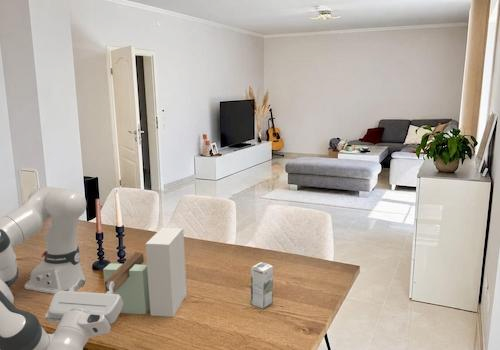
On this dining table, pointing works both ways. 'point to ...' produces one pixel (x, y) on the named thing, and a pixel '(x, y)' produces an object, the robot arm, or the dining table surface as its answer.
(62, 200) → the robot arm
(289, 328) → the dining table surface
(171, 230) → the white stand
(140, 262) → the walnut bar
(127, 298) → the sage notched plate
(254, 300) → the syrup box
